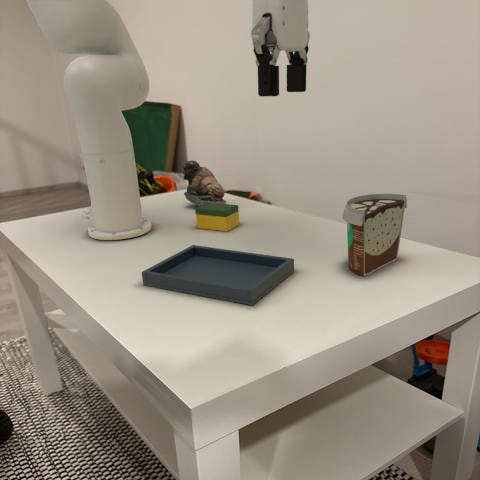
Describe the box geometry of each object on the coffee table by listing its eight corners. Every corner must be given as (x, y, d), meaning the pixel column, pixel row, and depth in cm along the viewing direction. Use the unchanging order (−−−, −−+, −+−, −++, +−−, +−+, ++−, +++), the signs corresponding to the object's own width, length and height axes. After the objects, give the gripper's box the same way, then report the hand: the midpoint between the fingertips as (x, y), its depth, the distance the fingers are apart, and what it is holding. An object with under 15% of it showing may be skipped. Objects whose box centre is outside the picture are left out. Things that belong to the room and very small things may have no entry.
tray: (143, 285, 76) (141, 272, 75) (193, 256, 87) (192, 244, 86) (252, 305, 68) (251, 291, 67) (294, 271, 78) (294, 258, 77)
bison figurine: (233, 208, 115) (230, 162, 110) (207, 215, 111) (204, 167, 106) (202, 200, 123) (198, 157, 119) (177, 206, 119) (172, 162, 115)
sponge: (196, 228, 102) (195, 208, 100) (210, 221, 106) (208, 202, 104) (226, 231, 99) (225, 211, 97) (239, 224, 103) (238, 205, 101)
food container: (368, 249, 86) (372, 189, 81) (402, 257, 82) (408, 194, 77) (324, 270, 78) (325, 205, 74) (358, 279, 74) (362, 211, 70)
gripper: (285, -30, 79) (285, 90, 87) (227, -45, 66) (233, 98, 74) (330, -36, 76) (326, 90, 84) (279, -54, 63) (280, 97, 70)
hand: (283, 93), depth 79 cm, fingers open, 9 cm apart
